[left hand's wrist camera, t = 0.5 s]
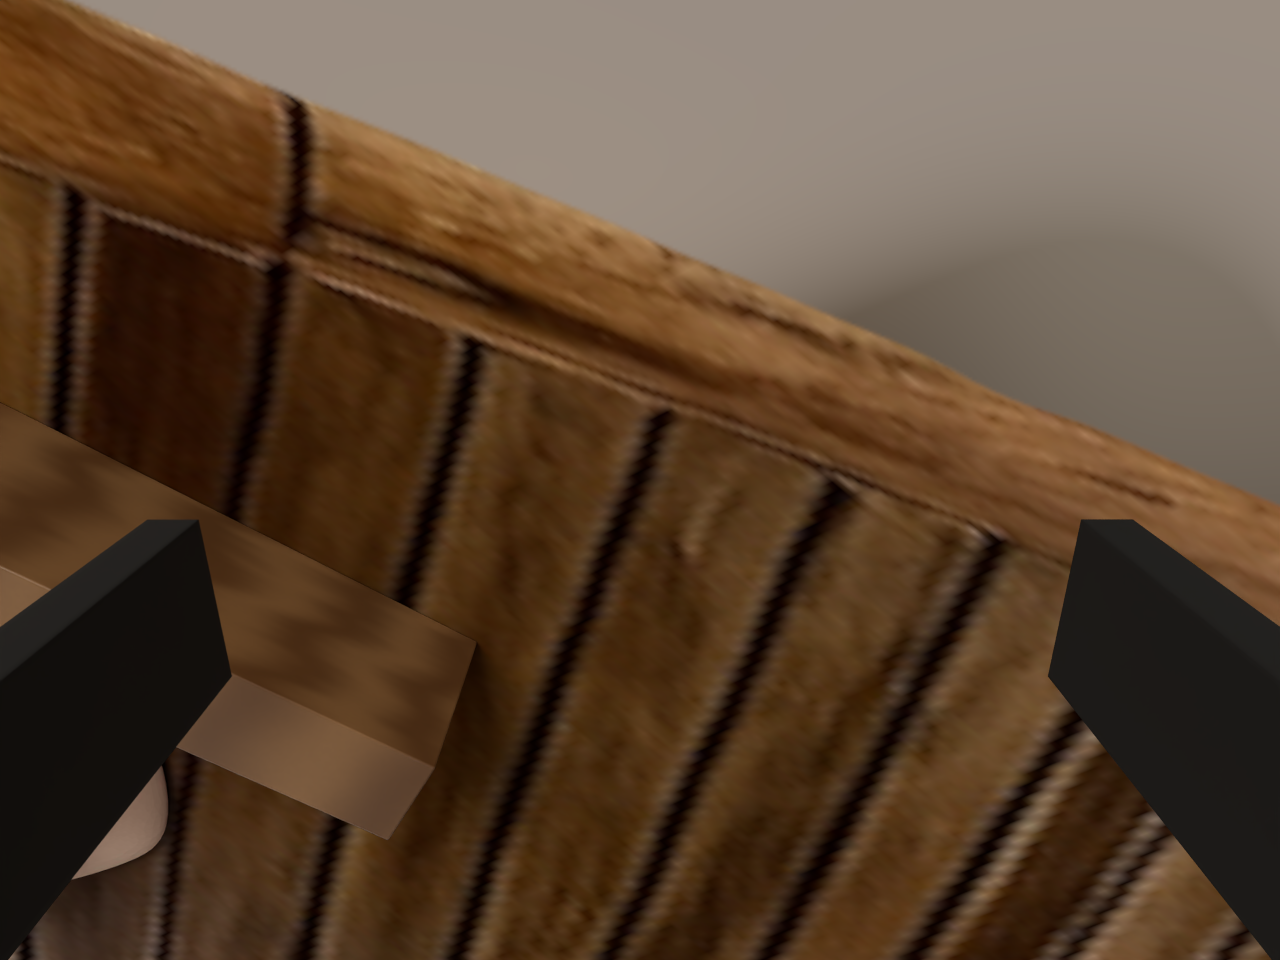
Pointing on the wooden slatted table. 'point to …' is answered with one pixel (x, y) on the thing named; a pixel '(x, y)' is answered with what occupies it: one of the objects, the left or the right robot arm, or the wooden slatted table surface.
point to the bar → (253, 634)
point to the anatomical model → (133, 829)
